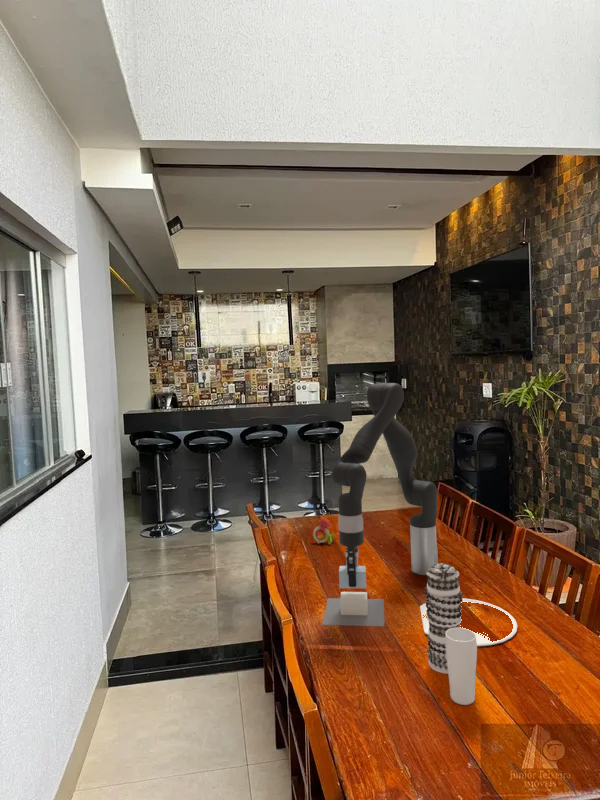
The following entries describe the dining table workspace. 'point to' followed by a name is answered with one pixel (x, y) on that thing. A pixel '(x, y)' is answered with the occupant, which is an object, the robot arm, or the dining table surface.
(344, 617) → the charcoal baseplate
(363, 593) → the cream base brick
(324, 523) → the bird rattle
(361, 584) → the pale blue brick
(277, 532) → the dining table surface
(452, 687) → the drinking glass
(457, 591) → the decorative candle
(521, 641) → the dining table surface
